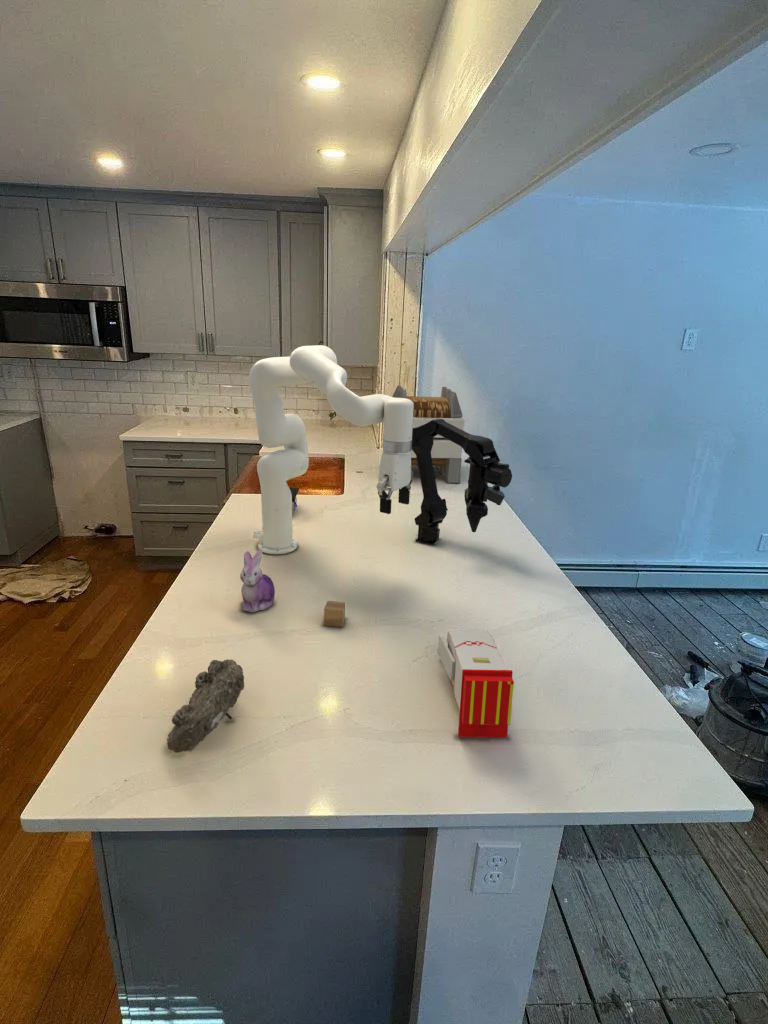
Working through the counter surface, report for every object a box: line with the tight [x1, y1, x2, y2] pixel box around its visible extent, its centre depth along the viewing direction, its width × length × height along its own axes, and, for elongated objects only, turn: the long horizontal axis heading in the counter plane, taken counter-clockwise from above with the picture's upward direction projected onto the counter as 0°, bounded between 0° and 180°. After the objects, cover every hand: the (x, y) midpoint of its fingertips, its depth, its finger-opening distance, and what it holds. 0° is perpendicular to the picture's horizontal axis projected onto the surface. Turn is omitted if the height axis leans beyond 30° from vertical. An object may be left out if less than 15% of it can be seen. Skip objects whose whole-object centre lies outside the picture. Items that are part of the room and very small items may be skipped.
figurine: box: [239, 549, 276, 613], centre depth 146 cm, size 9×10×15 cm
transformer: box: [391, 384, 465, 484], centre depth 268 cm, size 34×33×41 cm
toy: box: [437, 628, 515, 738], centre depth 117 cm, size 12×13×30 cm
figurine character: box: [288, 486, 300, 512], centre depth 216 cm, size 7×8×15 cm
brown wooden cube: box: [323, 600, 346, 628], centre depth 142 cm, size 4×5×5 cm
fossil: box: [166, 658, 245, 754], centre depth 106 cm, size 22×10×15 cm
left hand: (394, 508), depth 154 cm, fingers open, 9 cm apart
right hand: (473, 526), depth 179 cm, fingers open, 9 cm apart
